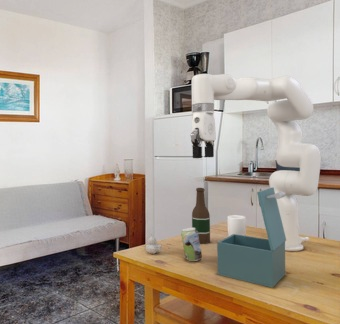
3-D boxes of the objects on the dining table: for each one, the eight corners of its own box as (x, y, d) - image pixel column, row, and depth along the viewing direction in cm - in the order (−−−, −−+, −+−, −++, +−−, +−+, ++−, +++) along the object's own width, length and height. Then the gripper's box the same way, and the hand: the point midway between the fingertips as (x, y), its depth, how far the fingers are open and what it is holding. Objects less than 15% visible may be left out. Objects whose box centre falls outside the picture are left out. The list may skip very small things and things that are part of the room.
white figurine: (147, 250, 139) (146, 231, 139) (163, 252, 137) (162, 232, 137) (144, 254, 134) (143, 234, 134) (160, 256, 132) (160, 236, 132)
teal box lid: (257, 192, 102) (274, 189, 98) (270, 187, 111) (287, 185, 108) (270, 250, 100) (289, 249, 96) (283, 240, 110) (301, 239, 106)
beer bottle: (212, 240, 152) (211, 187, 151) (208, 244, 145) (207, 189, 144) (194, 238, 156) (193, 186, 155) (189, 242, 149) (188, 188, 148)
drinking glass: (245, 253, 133) (245, 215, 132) (247, 258, 126) (247, 218, 126) (226, 251, 135) (226, 214, 134) (227, 257, 128) (227, 218, 128)
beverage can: (203, 263, 123) (202, 230, 122) (182, 262, 124) (181, 230, 124) (201, 257, 129) (200, 226, 128) (181, 256, 130) (180, 226, 130)
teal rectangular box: (217, 274, 112) (217, 242, 111) (233, 263, 121) (233, 233, 121) (272, 287, 100) (272, 251, 100) (285, 274, 110) (285, 241, 109)
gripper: (202, 106, 112) (202, 158, 112) (222, 110, 124) (223, 156, 125) (181, 109, 117) (182, 158, 117) (203, 112, 129) (203, 156, 130)
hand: (203, 157), depth 121 cm, fingers open, 9 cm apart
